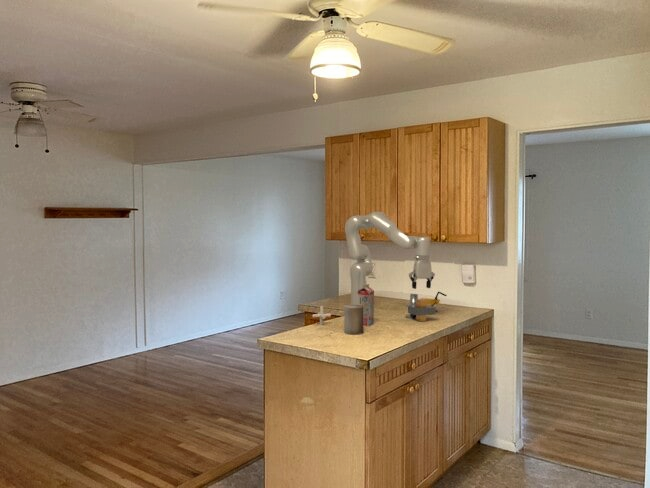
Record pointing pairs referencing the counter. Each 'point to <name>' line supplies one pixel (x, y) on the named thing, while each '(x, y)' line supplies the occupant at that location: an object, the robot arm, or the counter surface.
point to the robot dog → (433, 300)
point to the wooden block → (421, 304)
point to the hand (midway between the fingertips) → (421, 288)
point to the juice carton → (367, 304)
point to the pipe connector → (321, 315)
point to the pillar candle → (353, 319)
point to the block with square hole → (418, 308)
